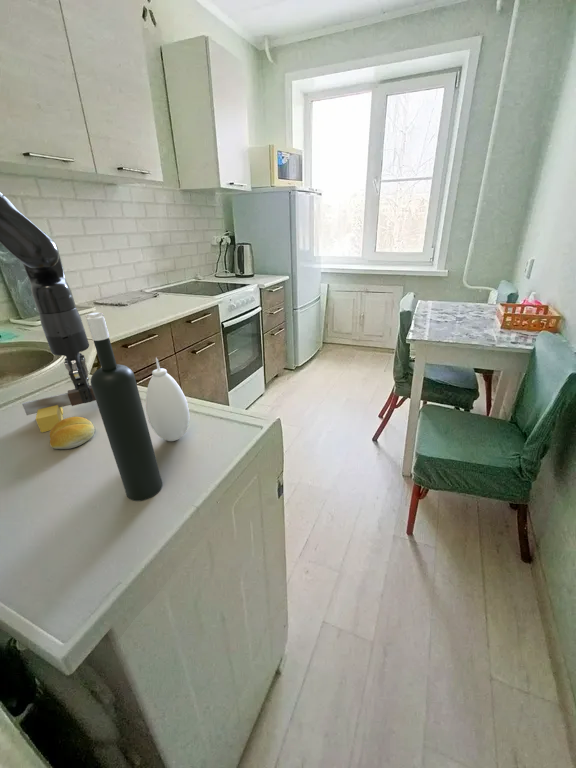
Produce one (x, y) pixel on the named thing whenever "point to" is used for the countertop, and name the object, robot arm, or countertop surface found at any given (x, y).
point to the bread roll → (71, 433)
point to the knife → (55, 401)
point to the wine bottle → (123, 417)
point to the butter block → (48, 418)
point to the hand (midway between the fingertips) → (87, 399)
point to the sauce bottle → (166, 406)
